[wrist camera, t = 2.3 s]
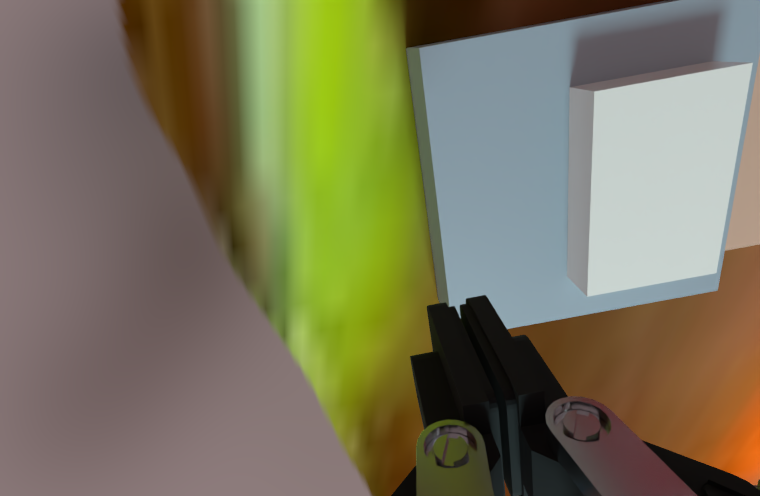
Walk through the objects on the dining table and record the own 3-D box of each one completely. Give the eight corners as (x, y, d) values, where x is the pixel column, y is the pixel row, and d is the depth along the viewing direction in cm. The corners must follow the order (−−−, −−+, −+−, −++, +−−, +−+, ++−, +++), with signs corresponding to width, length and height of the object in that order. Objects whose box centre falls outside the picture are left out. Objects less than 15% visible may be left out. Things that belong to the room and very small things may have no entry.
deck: (406, 48, 21) (418, 48, 17) (697, -6, 21) (771, -17, 17) (438, 299, 27) (453, 338, 23) (666, 257, 27) (717, 290, 23)
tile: (569, 87, 18) (594, 91, 17) (712, 61, 18) (752, 62, 17) (567, 276, 22) (586, 296, 20) (685, 254, 22) (716, 273, 20)
